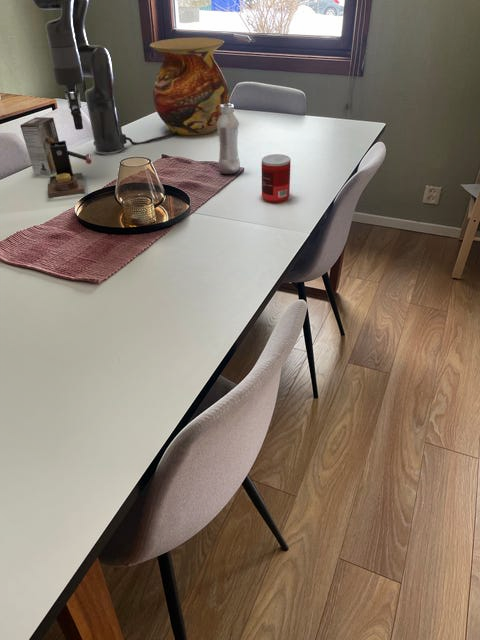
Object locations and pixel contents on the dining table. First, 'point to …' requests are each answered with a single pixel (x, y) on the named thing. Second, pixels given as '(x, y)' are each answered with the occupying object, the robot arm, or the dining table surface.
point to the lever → (79, 156)
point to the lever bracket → (62, 160)
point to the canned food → (275, 178)
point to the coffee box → (40, 143)
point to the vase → (189, 85)
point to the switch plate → (65, 188)
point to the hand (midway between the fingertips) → (79, 125)
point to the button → (63, 178)
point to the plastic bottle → (228, 140)
